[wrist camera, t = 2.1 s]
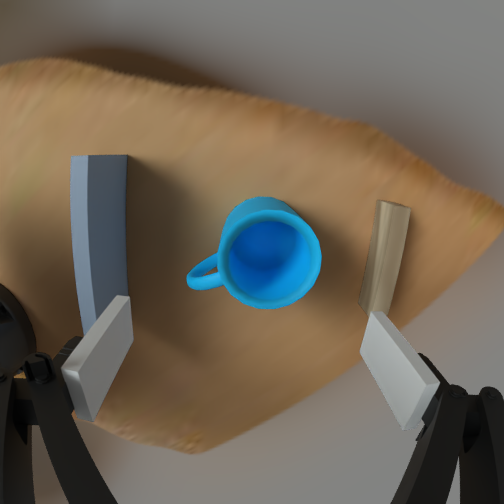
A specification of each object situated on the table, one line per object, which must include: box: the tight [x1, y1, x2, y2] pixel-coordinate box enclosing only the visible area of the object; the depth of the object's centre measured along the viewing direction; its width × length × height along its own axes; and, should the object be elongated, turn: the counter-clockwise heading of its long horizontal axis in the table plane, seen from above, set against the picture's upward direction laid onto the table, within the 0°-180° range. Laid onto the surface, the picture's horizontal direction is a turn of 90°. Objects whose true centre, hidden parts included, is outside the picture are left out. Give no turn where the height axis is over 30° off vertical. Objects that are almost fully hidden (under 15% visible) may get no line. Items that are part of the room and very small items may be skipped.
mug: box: [187, 197, 322, 309], centre depth 28 cm, size 12×8×8 cm
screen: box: [70, 155, 129, 336], centre depth 27 cm, size 4×18×9 cm, turn 175°
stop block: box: [358, 200, 411, 317], centre depth 31 cm, size 2×12×4 cm, turn 175°
